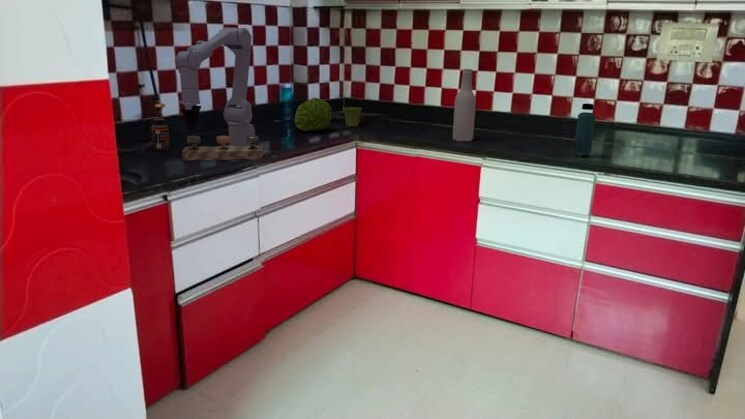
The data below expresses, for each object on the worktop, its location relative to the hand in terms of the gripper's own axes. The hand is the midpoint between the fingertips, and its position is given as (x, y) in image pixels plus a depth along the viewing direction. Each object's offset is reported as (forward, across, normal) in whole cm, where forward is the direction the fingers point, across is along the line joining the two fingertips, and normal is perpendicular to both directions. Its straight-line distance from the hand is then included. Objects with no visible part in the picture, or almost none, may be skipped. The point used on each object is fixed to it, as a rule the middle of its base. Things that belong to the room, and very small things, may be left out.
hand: (192, 128), depth 194 cm
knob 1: (+7, 0, 0) cm, 7 cm away
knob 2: (+7, 0, +20) cm, 21 cm away
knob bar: (+10, 0, +10) cm, 14 cm away
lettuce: (+11, -59, +45) cm, 75 cm away
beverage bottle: (+11, +6, +144) cm, 144 cm away
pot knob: (+7, 0, +10) cm, 12 cm away
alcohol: (+11, -30, +108) cm, 113 cm away
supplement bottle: (+11, -16, -14) cm, 23 cm away
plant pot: (+11, -71, +65) cm, 97 cm away
